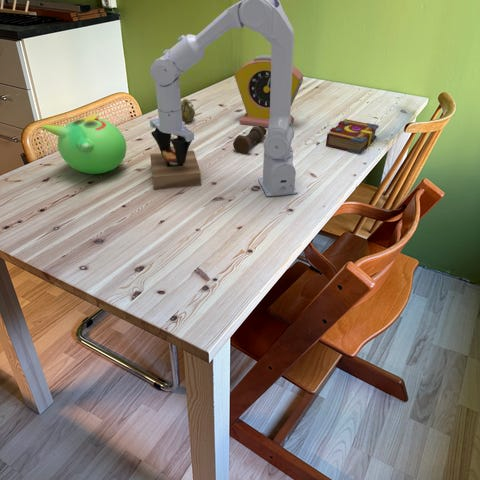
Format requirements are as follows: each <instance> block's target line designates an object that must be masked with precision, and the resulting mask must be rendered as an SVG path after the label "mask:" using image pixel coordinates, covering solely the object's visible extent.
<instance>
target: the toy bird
mask: <svg viewBox="0 0 480 480" xmlns="http://www.w3.org/2000/svg"><path fill="white" fill-rule="evenodd" d="M99 116H100V114H99V113H95V114H93V115H92V114H91V115H90V116H87V117H82V118H78V119H77V118H76V119H75V120H72V121H71V122H69V123H67V124H66V125H65V126H63V125H52V124H43V125H41V128H42V129H43V130H44V131H46V132H49V133H50V134H53V135H55V136H57V137H58V138H57V149H58V152H59V154H60V156H61V158H62V159H63V160H64V162H66V163H67V165H69V167H71V168H73V169H74V170H76V171H79V172H82V173H84V174H89V175H91V174H92V175H97V174H98V175H99V174H104V173H108V172H110V171H112V170H114V169H116V168H117V167H119V166H120V165H121V163H122V162H123V161H124V159H125V156H126V153H127V142H126V138H125V137H124V135H123V133H122V132H121V130H119V128H118V127H117V126H116V125H114V124H113V123H111V122H110V121H108V120H105V119H103V118H98V117H99Z"/></svg>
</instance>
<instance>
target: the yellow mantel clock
mask: <svg viewBox="0 0 480 480" xmlns="http://www.w3.org/2000/svg"><path fill="white" fill-rule="evenodd" d="M233 77H234V79H235V82H236V85H237V88H238V91H239V94H240V97H241V99H242V104H243V105H244V106H243V107H244V109H245V110H244V111H245V112H246V113H245V114H244V115H242V117H241V118H240V119H239V124H240V125H246V126H253V127H259V126H262V127H264V128H268V125H269V119H270V88H271V54H261V55H257V56H255V57H254V58H253V59H252V60H251V61H248V62H247V63H245V64H244V65H242V66H241V67H240V68H238V69H237V70H236V71H235V72H234V76H233ZM303 82H304V75H303V73H302V72H301V71H300V70H299V69H298V68H297V67H296V66H294V65H293V68H292V88H291V107H292V106H293V103H294V101H295V99H296V96H297V95H298V92H299V91H300V88H301V86H302V83H303ZM291 107H290V109H291ZM294 120H295V117H294V116H292V115H291V124H293V122H294Z"/></svg>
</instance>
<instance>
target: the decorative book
mask: <svg viewBox="0 0 480 480" xmlns="http://www.w3.org/2000/svg"><path fill="white" fill-rule="evenodd" d="M377 129H379V124H374V123H369V122H362V121H356V120H352V119H346V118H344V120H340V121H339V122H338V124H337V125H336V126H335V127H331V128H330V129H329V132H328V133H327V134H326V142H325V146H326V147H330V148H334V149H337V150H338V149H339V150H343V151H347V152H348V153H352V154H357V155H362V153H363V152H364V151H365V149H366V148H369V146H370V145H371V143H372V142H374V141H375V140H376V139H377V135H376V131H377Z"/></svg>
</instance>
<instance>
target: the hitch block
mask: <svg viewBox="0 0 480 480" xmlns="http://www.w3.org/2000/svg"><path fill="white" fill-rule="evenodd" d="M149 156H150V167H151V174H152V175H151V176H152V184H153V189H154V190H162V189H163V190H164V189H175V188H184V187H194V186H195V187H196V186H202V176H201V173H202V172H201V169H200V167H199V164H198V160H197V156H196V153H195V150H192V149H191V150H188V151H187V155H186V161H185V163H182V164H180V166H174V167H169V162H167V161H165V160H164V159H163V156H162V154H161V152H157V153H150V154H149Z"/></svg>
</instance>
